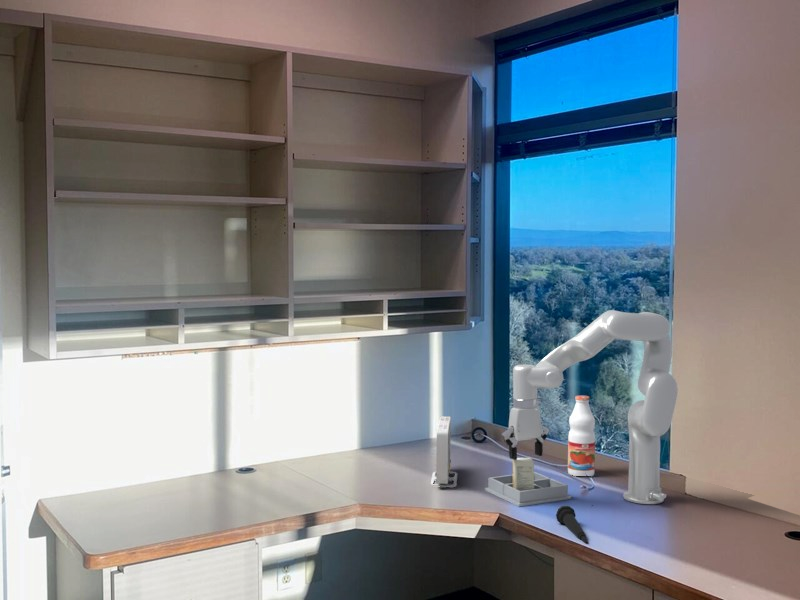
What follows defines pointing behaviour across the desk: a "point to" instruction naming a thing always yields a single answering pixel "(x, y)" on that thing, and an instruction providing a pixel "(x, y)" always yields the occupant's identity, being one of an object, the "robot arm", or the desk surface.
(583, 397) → the fruit juice
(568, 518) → the microphone
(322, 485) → the desk surface
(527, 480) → the skincare box
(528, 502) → the gray compartment tray
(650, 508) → the desk surface
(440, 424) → the network device
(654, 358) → the robot arm
